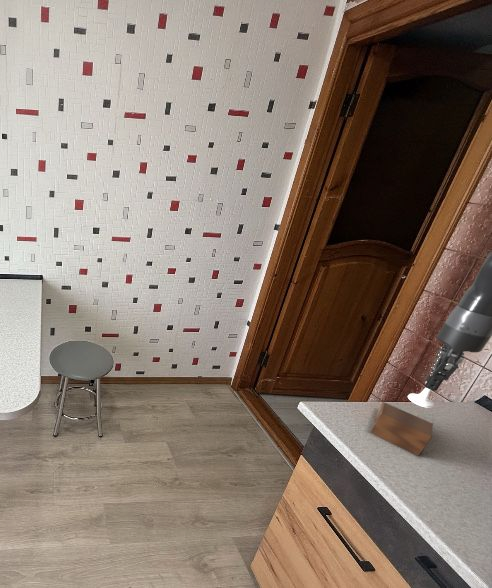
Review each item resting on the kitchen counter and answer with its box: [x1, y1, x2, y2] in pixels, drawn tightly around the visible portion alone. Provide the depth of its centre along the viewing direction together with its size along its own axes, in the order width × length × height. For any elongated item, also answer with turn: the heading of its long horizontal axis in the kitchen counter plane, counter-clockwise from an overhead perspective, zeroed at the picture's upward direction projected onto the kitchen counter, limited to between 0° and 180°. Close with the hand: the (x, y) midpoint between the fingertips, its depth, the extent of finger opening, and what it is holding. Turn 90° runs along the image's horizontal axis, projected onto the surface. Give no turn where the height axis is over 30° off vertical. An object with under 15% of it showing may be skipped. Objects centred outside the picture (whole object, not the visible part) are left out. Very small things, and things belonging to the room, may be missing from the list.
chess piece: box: [407, 372, 441, 409], centre depth 84 cm, size 5×5×10 cm
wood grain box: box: [369, 401, 434, 457], centre depth 93 cm, size 10×14×7 cm
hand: (430, 386), depth 84 cm, fingers closed on chess piece
